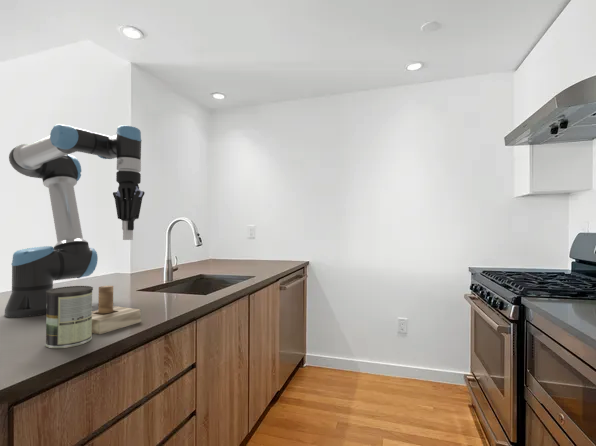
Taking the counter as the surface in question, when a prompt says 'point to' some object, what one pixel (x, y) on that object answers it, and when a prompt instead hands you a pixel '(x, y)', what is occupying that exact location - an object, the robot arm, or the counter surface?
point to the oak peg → (105, 300)
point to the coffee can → (68, 316)
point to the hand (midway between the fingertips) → (127, 239)
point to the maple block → (115, 319)
